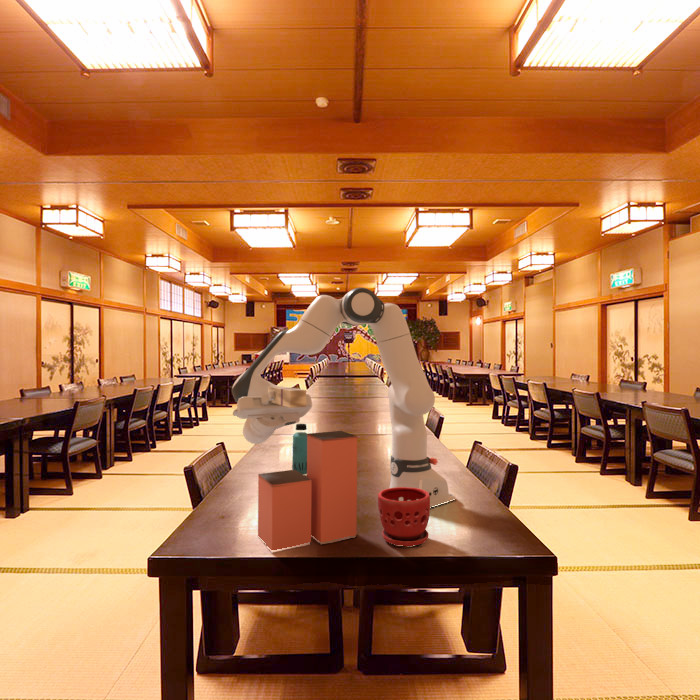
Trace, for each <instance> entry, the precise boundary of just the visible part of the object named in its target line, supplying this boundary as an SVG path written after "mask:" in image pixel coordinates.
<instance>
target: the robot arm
mask: <svg viewBox="0 0 700 700" xmlns="http://www.w3.org/2000/svg"><path fill="white" fill-rule="evenodd" d="M340 324H345V325H348V326H354V327H355V326H357V327H358V326H363V325H368V326H369V327H370V328H371V330H372V332H373V334H374V338H375V341H376V346H377V349H378V351H379V352H378V353H379V356H380V358H381V359H380V360H381V362H382V366H383V368H384V370H385V372H386V374H387V376H388V378H389V381H390V385H389V387H388V389H387V397H388V403H389V405H388V406H389V414H390V415H389V416H390V424H391V432H392V433H391V438H392V440H391V456H390V473H391V474H390V482H389V488H395V487H411V488H418V489H422V490H425V491H426V492H428V493H429V495H430V507H432V506H435V505H438V504H441V503H444V502H447V501H450V500H453V499H456V500H457V497H456V496H455V495H454V494H453V493H452V492H450V491H449V486H448V485H449V484H448V481H447V480H446V479H445V478H444V477H443V476H442V475H441V474H440V473H438V471H436V470H434V468H432V465H434V466H435V465H436V466H437V464H438V463H439V461H438V459H437V458H434V457H429V456H428V431H427V428H426V424H425V418H424V415H426V414H428V413H429V412H430V411H431V410H432V409H433V407H434V406H435V401H436V396H435V393H434V391H433V390H432V388H431V386H430V384H429V382H428V379H427V376H426V374H425V371H424V370H423V367H422V366H421V363H420V361H419V358H418V355H417V352H416V350H415V346H414V342H413V339H412V336H411V335H412V334H411V332H410V328H409V325H408V323H407V319H406V317H405V316H404V313H403V311H402V309H401V308H400V307H399V305H398V304H395V303H391V302H387V303H384V302H383V300H381V299H380V298H379V296H377V295H376V294H375V293H374V292H373V291H372V290H371V289H369V288H366V287H356V288H353V289H351V290H350V291H348V292H347V293H345V295H344V296H343V297H341V298H339V299H337V298H336V297H333V296H331V295H327V294H321V295H319V296H316V297H315V298H314V300H313V301H311V303H310V305H309V306H308V307H307V309H306V310H305V311H304V312H303V314H302V316H301V317H300V319H299V321H298V322H297V324H296V325H294V326H293V327H292V328H290V329H288V330H287V329H286V330H285V329H284V330H283V329H282V330H281V331H280V332H279V333H277V335H275V336H274V338H273V339H272V340H271V341H270V342H269V344H267V345H266V347H265V348H264V349H263V350H262V352H261V353H260V354H259V355H258V357H256V358H255V359H254V361H253V362H252V364H251V365H250V366H249V367H248V369H246V370H245V371H244V372H243V373H241V374H240V375H239V376H238V377H237V378H236V380H235V381H234V383H233V384H232V387H231V394H232V396H233V399H234V401H235V403H236V408H234V410H233V412H232V415H233V417H237V418H239V419H241V420H244V419H246V420H245V422H244V424H243V428H242V435H243V437H244V439H245V440H246V441H247V442H248V443H250V444H254V445H260V444H262V443H264V442H266V441H267V440H269V439H270V438H271V437H272V435H273V434H274V433H275V431H276V430H278V429H281V428H283V427H285V426H286V427H287V426H290V425H296V424H299V423H300V420H301V418H303V417H304V416H305V415H307V413H308V412H309V411H311V409H312V407H313V402H312V397H311V395H310V394H307V393H306V407H293V408H290V407H286V406H282V405H279V404H275V403H272V402H270V400H274V399H275V398H276V394H275V391H269V393H268V387H270V386H277V385H276V384H274V383H273V382H271V381H268V380H267V379H265V378H263V377H262V376H261V375H262V374H263V371H264V370H265V369H266V368H267V367H268V366H269V364H270V363H272V361H273V360H274V358H275V357H276V356H278V355H279V354H282V353H293V354H297V355H304V356H305V355H306V356H307V355H309V356H312V355H317V354H319V353H320V352H322V351H323V350H324V349H325V347H326V346H327V344H328V343H329V341H330V339H331V338H332V336H333V334H334V332H335V330H336V329H337V328H338V327H339V325H340ZM417 500H418V499H417ZM399 501H403V497H400V498H399ZM407 501H411V500H407Z"/></svg>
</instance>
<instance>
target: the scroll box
mask: <svg viewBox="0 0 700 700" xmlns="http://www.w3.org/2000/svg"><path fill="white" fill-rule="evenodd" d="M269 391H275V394H276V398H275V399H274V400H270V402H272V403H275V404H279V405H282V406H286V407H290V408H293V407H306V394H307V390H306V389H302V388H298V387H297V388H296V387H295V388H294V387H290V386H283V385H282V386H281V385H280V386H278V385H276V386H270V387H268V393H269Z"/></svg>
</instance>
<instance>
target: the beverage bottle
mask: <svg viewBox="0 0 700 700" xmlns="http://www.w3.org/2000/svg"><path fill="white" fill-rule="evenodd" d="M307 429H308V428H307V424H306V423H295V430H296V431H298V432H295V433H294V434H293V435H292V447H291V448H292V461H291V462H292V463H291V464H292V465H291V470H296V471H298V472H300V473H301V474H303V475H304V476H305V475H307V434H308V433H307V432H305V431H306V430H307Z"/></svg>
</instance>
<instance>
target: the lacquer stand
mask: <svg viewBox="0 0 700 700" xmlns="http://www.w3.org/2000/svg"><path fill="white" fill-rule="evenodd" d="M257 479H258V483H257V484H258V488H257V489H258V491H257V496H258V499H257V537H258V536H259V537H260V538H261V539H262V540H263V541H264V542H265V543H266V545H267V546H268V547H269V548H270V549H271V550H277V549H282V548H287V547H292V546H296V545H300V544H304V543H308V542H311V543H312V537H311V535H312V536H314V537H315V538H316V539H317V540H319V541H320V542H326V541H331V540H334V539H339V538H344V537H348V536H354V535H358V532H357V531H358V529H357V524H358V520H357V517H358V514H357V513H358V509H357V508H358V435H354V434H352V433H349V432H346V431H343V430H335V431H334V430H333V431H323V432H321V431H320V432H312V433H311V432H310V433H307V474H306V475H305V474H304V475H303V474H301V473H300V472H298V471H296V470H292V469H289V470H281V471H273V472H265V473H264V472H263V473H258V478H257ZM259 537H258V538H259ZM260 538H259V539H260Z"/></svg>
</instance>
